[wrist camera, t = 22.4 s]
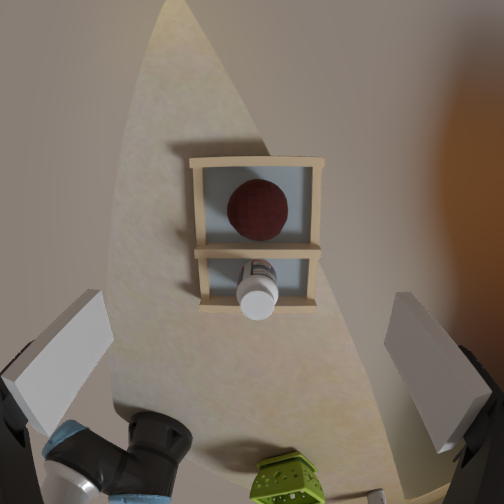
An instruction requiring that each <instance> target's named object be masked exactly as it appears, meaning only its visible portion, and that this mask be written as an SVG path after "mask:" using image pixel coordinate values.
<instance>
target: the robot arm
mask: <svg viewBox="0 0 504 504" xmlns="http://www.w3.org/2000/svg"><path fill="white" fill-rule="evenodd" d="M113 340H114V338H113V334H112V331H111V327H110V324H109V320H108V316H107V312H106V308H105V305H104V301H103V296H102V292H101V290H93V289H88V290H87V291H86V292H85V293H83V294H82V295H81V296H80V297H79V298H78V299H77V300H76V301H75V302H74V303H72V305H70V306H69V307H68V308H67V309H66V310H65V311H64V312H63V313H62V314H61V315H60V316H59V317H58V318H57V319H56V320H55V321H54V322H52V324H50V325H49V326H48V327H47V328H46V329H45V330H44V331H43V332H42V333H41V334H40V335H39V336H38V337H37V338H36V339H35V340H33V341H32V342H30V343H28V344H27V345H26V346H25V347H24V348H23V349H22V350H21V353H18V354H17V355H16V357H15V359H13V360H12V361H11V362H10V363H9V364H8V365H7V366H6V367H5V368H4V369H3V370H2V372H1V373H0V504H87V503H88V500H89V499H91V498H96V497H98V496H99V494H100V492H103V493H104V494H107V495H108V496H109V497H108V501H109V503H110V504H169V502H170V501H171V495H172V491H173V487H174V482H175V478H176V474H177V469H178V465H179V463H180V462H181V460H182V459H183V458H184V456H185V455H186V454H187V452H188V451H189V450H190V448H191V444H192V439H193V438H192V434H191V433H190V431H189V430H188V429H187V428H186V427H185V426H184V425H183V424H181V423H180V422H178V421H176V420H174V419H172V418H170V417H168V416H165V415H162V414H158V413H152V412H141V413H137V414H135V415H134V416H133V417H132V419H131V421H130V424H129V446H128V449H127V451H125V450H123V449H121V448H120V447H118V446H116V445H114V444H113V443H111V442H109V441H107V440H106V439H104V438H102V437H101V436H99V435H97V434H96V433H94V432H93V431H91V430H90V429H89V428H88V427H85V426H83V425H82V424H80V423H78V422H77V421H75V420H67V421H65V422H64V423H62V424H61V426H59V427H58V429H57V430H56V431H55V432H54V433H53V431H54V430H55V428H56V426H57V425H58V423H59V422H60V420H61V418H62V417H63V415H64V413H65V412H66V410H67V409H68V407H69V405H70V404H71V402H72V401H73V399H74V398H75V396H76V395H77V393H78V392H79V390H80V389H81V387H82V385H83V384H84V382H85V381H86V379H87V378H88V376H89V375H90V373H91V372H92V370H93V369H94V368H95V366H96V364H97V363H98V362H99V360H100V359H101V357H102V356H103V354H104V353H105V352H106V350H107V349H108V347H109V346H110V344H111V343H112V342H113ZM384 345H385V347H386V349H387V350H388V352H389V354H390V355H391V358H392V360H393V361H394V364H395V365H396V367H397V369H398V371H399V373H400V375H401V377H402V379H403V381H404V383H405V385H406V387H407V389H408V391H409V393H410V395H411V397H412V399H413V401H414V403H415V405H416V407H417V409H418V411H419V413H420V415H421V418H422V420H423V422H424V424H425V426H426V428H427V431H428V433H429V435H430V437H431V439H432V442H433V444H434V446H435V448H436V451H437V453H441V452H443V451H446V450H449V449H452V448H455V447H456V445H457V444H458V443H459V441H460V440H461V439H462V437H464V440H465V442H466V444H465V445H464V447H463V448H462V449H461V450H460V452H459V453H458V454H457V455H456V456H455V458H454V460H453V462H455V461H456V460H457V459H458V458H459V457H460V458H459V461H458V464H457V467H456V470H455V473H454V476H453V478H452V481H451V484H450V486H449V489H448V491H447V494H446V496H445V498H444V501H443V503H442V504H504V392H502V391H501V389H500V388H499V387H498V385H497V384H496V383H495V381H494V380H493V379H492V377H491V376H490V375H489V373H488V372H487V371H486V370H485V369H483V366H482V365H481V363H480V362H478V360H477V358H476V357H475V356H474V355H473V354H472V352H471V351H469V350H468V349H466V348H465V347H463V346H461V345H459V346H457V345H456V344H455V342H454V341H453V340H452V339H451V338H450V336H449V335H448V334H447V333H446V332H445V330H444V329H443V328H442V327H441V326H440V324H439V323H438V322H437V321H436V320H435V319H434V318H433V316H432V315H431V314H430V313H429V312H428V311H427V310H426V309H425V307H424V306H423V305H422V304H421V303H420V302H419V301H418V299H417V298H416V297H415V296H414V295H413V294H412V293H411V292H398V293H396V295H395V300H394V305H393V309H392V314H391V318H390V323H389V326H388V330H387V334H386V338H385V342H384ZM28 421H29V422H30V424H31V425H32V427H33V428H34V429H35V431H37V432H39V433H41V434H43V435H46V436H48V437H50V436H51V435H52V436H51V437H50V440H48V442H47V443H46V444H45V446H44V448H43V450H42V456H44V458H45V459H46V460H45V462H44V468H45V470H46V473H47V476H46V478H45V480H44V482H43V484H42V486H41V488H40V487H39V484H38V480H37V475H36V470H35V466H34V461H33V456H32V450H31V444H30V438H29V432H28V429H27V428H26V426H25V425H26V424H27V422H28ZM52 433H53V434H52Z"/></svg>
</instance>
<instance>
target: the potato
mask: <svg viewBox="0 0 504 504" xmlns="http://www.w3.org/2000/svg"><path fill="white" fill-rule="evenodd" d="M227 216H228V219H229V222H230V224H231V225H232V226H233V228H234V229H235V230H236V231H237V232H238V233H239V234H240V235H241V236H243V237H245V238H247V239H250V240H253V241H260V242H262V241H266V240H270V239H272V238H274V237H275V236H277V235H278V234H280V232H281V230H282V228H283V227H284V225H285V223H286V221H287V218H288V203H287V199H286V197H285V194H284V192H283V191H282V190H281V189H280V188H279V186H277V185H276V184H274V183H272V182H270V181H267V180H264V179H253V180H249V181H246V182H245V183H243V184H241V185H240V186H239V187H238V188H237V189H236V190H235V191H234V192H233V194H232V195H231V196H230V199H229V202H228V205H227Z"/></svg>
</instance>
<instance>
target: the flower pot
mask: <svg viewBox="0 0 504 504" xmlns="http://www.w3.org/2000/svg"><path fill="white" fill-rule="evenodd" d="M256 467H257V468H259V469H260V472H259V473H258V475H257V476H256V478H255V480H254V482H253V484H252V488H251V492H250V499H251V500H252V501H254V502H255V503H257V504H323V503H325V496H324V492H323V489H322V487H321V484H320V482H319V480H318V478H317V477H316V475H315V474H314V473H315V472H317V471H318V470H317V469H316V468H315V466H314V465H313V464H312V463H311V462H310V461H309V460H308V459H306V458H305V457H304V456H303V455H302V454H301V453H300V452H298V451H296V452H292V453H289V454H285V455H281V456H277V457H273V458H269V459H264V460H262V461H260V462H259V463H257V464H256ZM300 491H304V493H300ZM287 493H288V494H287ZM285 494H286V495H285ZM292 494H295V498H294V499H291V497H290V495H292ZM303 496H305V497H304V498H303ZM280 497H281V498H280ZM273 498H275V501H273ZM284 499H285V500H286V501H284Z"/></svg>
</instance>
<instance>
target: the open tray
mask: <svg viewBox="0 0 504 504" xmlns="http://www.w3.org/2000/svg"><path fill="white" fill-rule="evenodd" d="M189 165H190V168H193V186H194V207H195V224H196V240H197V246H196V248H195V249H194V254H195V258H198V266H199V278H200V290H201V302H200V304H199V308H200V312H204V313H242V311H241V308H240V304H239V303H238V301H237V297H236V290H237V284H238V278H239V273H240V270H241V268H242V267H243V265H244V264H246V263H247V262H248V261H251V260H254V259H262V260H265V261H267V262H269V263H270V264H271V265H272V266H273V267H274V269H275V271H276V276H277V284H278V300H277V302H276V304H275V305H274V310H273V312H272V313H271V314H295V313H316V307H317V305H316V302H315V293H316V281H317V268H318V259H320V258H321V248H320V247H319V237H320V236H319V235H320V215H321V191H322V190H321V189H322V188H321V187H322V167H325V158H323V157H302V156H228V157H203V158H189ZM253 179H264V180H267V181H270V182H272V183H274V184H276V185H277V186H279V188H280V189H281V190H282V191H283V192H284V194H285V197H286V199H287V203H288V218H287V221H286V223H285V225H284V227H283V228H282V230H281V232H280V234H278V235H277V236H275V237H274V238H272V239H270V240H266V241H262V242H260V241H253V240H250V239H247V238H245V237H243V236H241V235H240V234H239V233H238V232H237V231H236V230H235V229H234V228H233V226H232V225H231V224H230V222H229V219H228V216H227V205H228V202H229V199H230V196H231V195H232V194H233V192H234V191H235V190H236V189H237V188H238V187H239V186H240V185H241V184H243V183H245V182H246V181H249V180H253Z"/></svg>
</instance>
